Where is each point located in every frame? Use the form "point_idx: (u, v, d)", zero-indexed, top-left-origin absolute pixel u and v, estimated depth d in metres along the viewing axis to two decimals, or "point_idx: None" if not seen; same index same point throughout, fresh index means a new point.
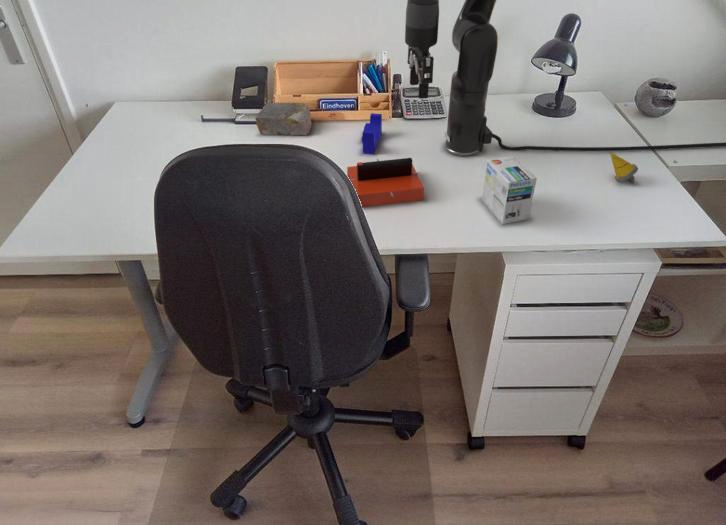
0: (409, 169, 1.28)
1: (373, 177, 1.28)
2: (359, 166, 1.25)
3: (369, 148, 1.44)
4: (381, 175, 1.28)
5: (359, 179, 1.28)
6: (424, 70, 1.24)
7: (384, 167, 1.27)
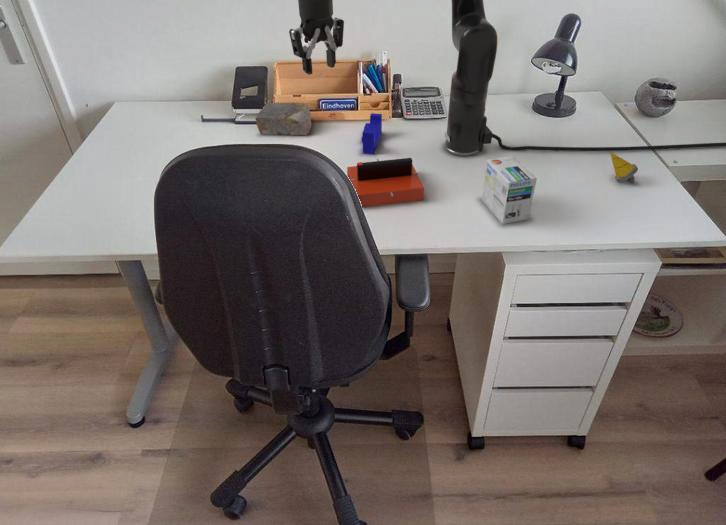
0: (409, 169, 1.28)
1: (373, 177, 1.28)
2: (359, 166, 1.25)
3: (369, 149, 1.44)
4: (381, 175, 1.28)
5: (359, 179, 1.28)
6: (292, 42, 1.21)
7: (384, 167, 1.27)
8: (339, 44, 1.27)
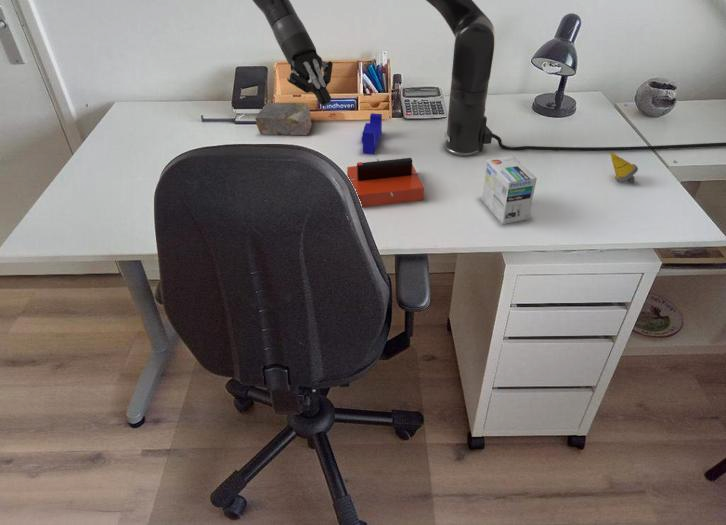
0: (409, 169, 1.28)
1: (373, 177, 1.28)
2: (359, 166, 1.25)
3: (369, 149, 1.44)
4: (381, 175, 1.28)
5: (359, 179, 1.28)
6: (297, 85, 1.30)
7: (384, 167, 1.27)
8: (326, 80, 1.31)
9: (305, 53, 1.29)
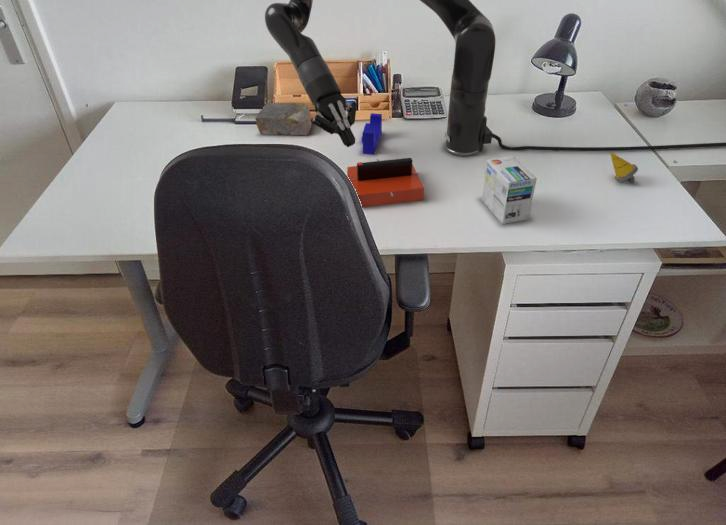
0: (409, 169, 1.28)
1: (373, 177, 1.28)
2: (359, 166, 1.25)
3: (369, 149, 1.44)
4: (381, 175, 1.28)
5: (359, 179, 1.28)
6: (321, 127, 1.29)
7: (384, 167, 1.27)
8: (351, 121, 1.31)
9: (330, 95, 1.29)
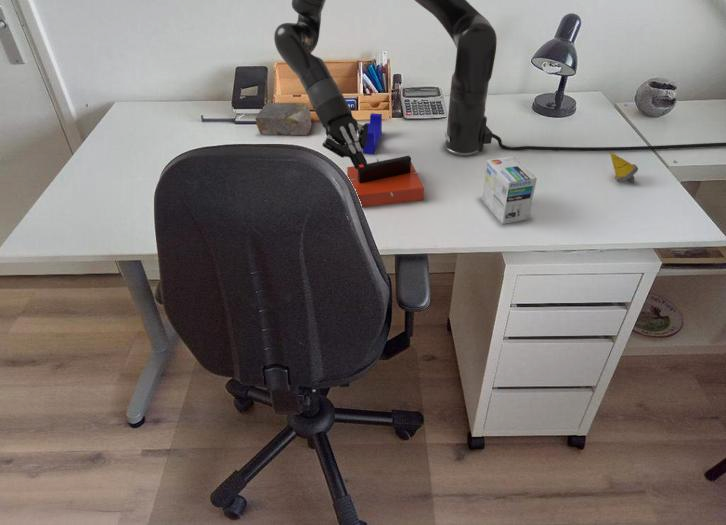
0: (408, 167, 1.29)
1: (374, 178, 1.28)
2: (361, 168, 1.25)
3: (369, 148, 1.44)
4: (382, 175, 1.28)
5: (361, 181, 1.27)
6: (332, 151, 1.26)
7: (385, 167, 1.27)
8: (362, 144, 1.27)
9: (341, 117, 1.25)
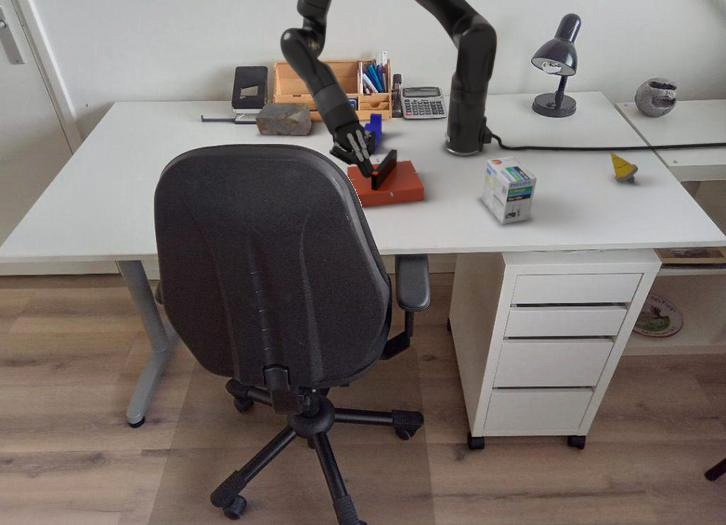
0: (396, 159, 1.32)
1: (382, 181, 1.27)
2: (377, 175, 1.22)
3: None
4: (385, 175, 1.28)
5: (377, 188, 1.24)
6: (339, 158, 1.23)
7: (387, 166, 1.27)
8: (370, 151, 1.25)
9: (348, 124, 1.23)
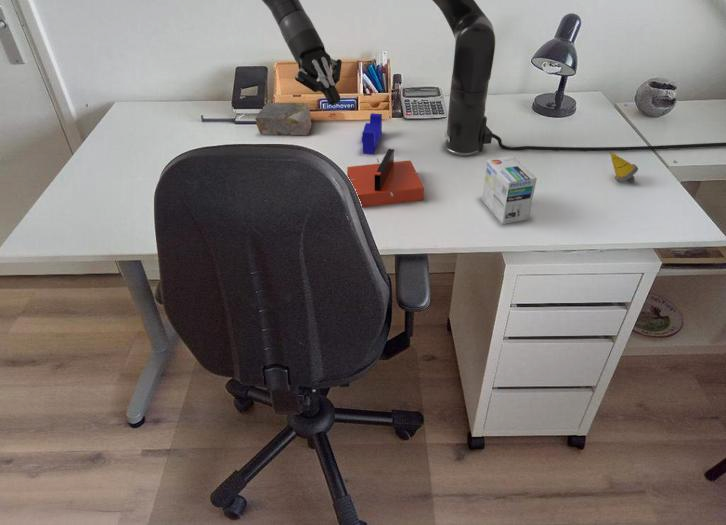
0: (393, 159, 1.32)
1: (384, 181, 1.27)
2: (380, 175, 1.22)
3: (369, 148, 1.44)
4: (386, 175, 1.28)
5: (380, 189, 1.24)
6: (305, 84, 1.25)
7: (387, 166, 1.27)
8: (335, 79, 1.27)
9: (313, 51, 1.25)
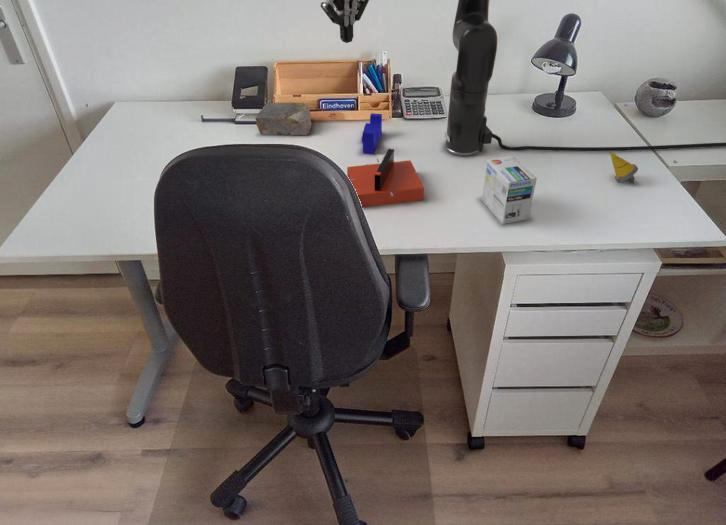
0: (393, 159, 1.32)
1: (384, 181, 1.27)
2: (380, 175, 1.22)
3: (369, 149, 1.44)
4: (386, 175, 1.28)
5: (380, 189, 1.24)
6: (327, 14, 1.21)
7: (387, 166, 1.27)
8: (357, 17, 1.25)
9: None
